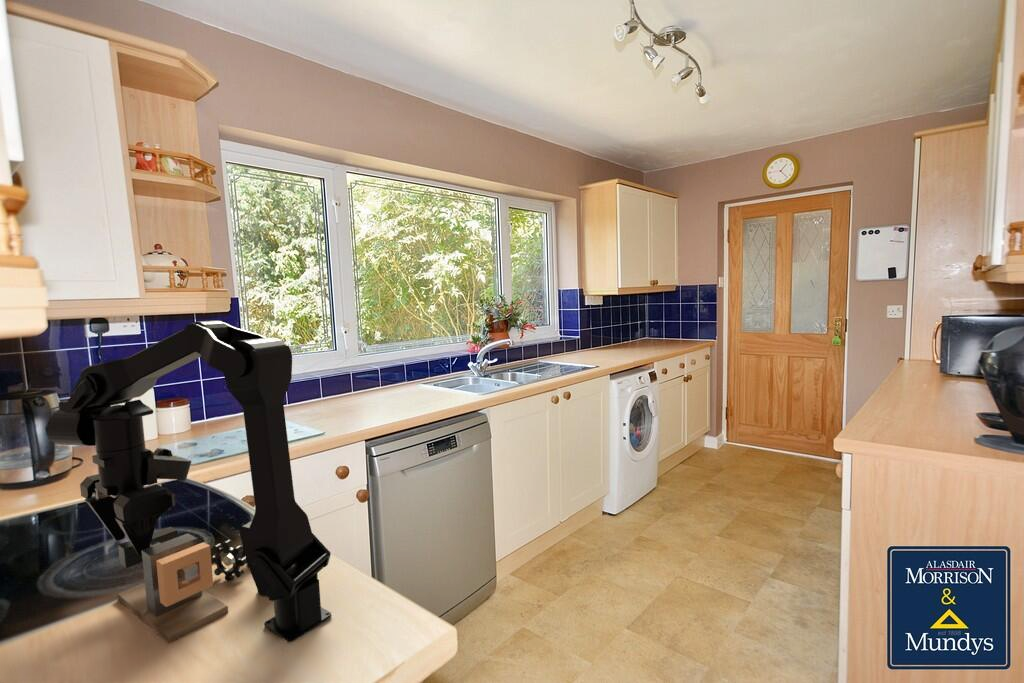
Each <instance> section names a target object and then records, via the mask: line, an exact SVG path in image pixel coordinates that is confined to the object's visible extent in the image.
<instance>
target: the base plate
mask: <svg viewBox="0 0 1024 683" xmlns="http://www.w3.org/2000/svg"><path fill="white" fill-rule="evenodd" d="M117 600H118V601H119V602H120V603H121V604H122V605H123V606H124V607H125V608H127V609H128V610H129V609H130V610H129V611H130V612H132V613H133V614H134V615H135V616H136V615H137V616H138V617H137V616H136V617H137V618H139V619H140V620H141V621H142V622H143V623H144V624H146V626H148V628H150V629H151V630H153V631H154V632H155V633H156V634H157V635H158V636H160V637H161V638H162V639H163V640H164V641H165V642H166V643H168V644H170V643H172V642H174V641H175V640H177V639H180V638H182V637H183V636H186V635H187V634H189V633H191V632H193V631H195V630H197V629H198V628H200V627H202V626H204V625H206V624H209V623H211V622H212V621H214V620H216V619H218V618H219V617H222V616H224V615H226V614H228V613H229V609H228V607H229V606H228V605H227V604H225V602H222V601H221V600H219V599H218V598H217V597H215V596H213V595H212V594H210V593H209V592H207V591H206V590H205V589H204V590H202V596H201V597H198V598H196V599H194V600H192V601H190V602H188V603H186V604H184V605H181V606H179V607H177V608H175V609H173V610H171V611H169V612H167V613H164V614H162V615H160V616H158V617H155V616H154V615H153V614H151V613H150V612H149V611H148V610H147V600H146V590H145V582H143V583H140V584H138V585H136V586H133V587H131V588H128V589H126V590H123V591H120V592H119V593H117Z"/></svg>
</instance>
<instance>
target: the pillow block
mask: <svg viewBox="0 0 1024 683" xmlns="http://www.w3.org/2000/svg"><path fill="white" fill-rule="evenodd" d="M198 544H199V543H198V537H196V536H194V535H192V534H190V533H185V534H183V535H180V536H179V535H178V537H177V538H174V539H171V540H169V541H166V542H163V543H160V544H158V545H155V546H152V547H150V548H147V549H144V550H142V560H143V562H142V568H143V579H144V583H145V590H146V600H147V610H148V611H149V612H150V613H151V614H153V615H154V616H155V617H158V616H160V615H162V614H164V613H167V612H169V611H171V610H173V609H175V608H177V607H179V606H181V605H184V604H186V603H188V602H190V601H192V600H194V599H196V598H198V597H201V596H202V591H200V592H198V593H196V594H194V595H191V596H189V597H187V598H185V599H183V600H181V601H178V602H176V603H174V604H172V605H170V606H168V607H166V606H164V605H163V604H162V603H160V595H159V585H158V574H157V564H156V561H157V560H159V559H162V558H164V557H167V556H169V555H172V554H175V553H177V552H180V551H182V550H185V549H187V548H190V547H192V546H195V545H198ZM177 578H178V583H179V582H182V581H184V580H183V579H181V578H180V577H178V576H177Z"/></svg>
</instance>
